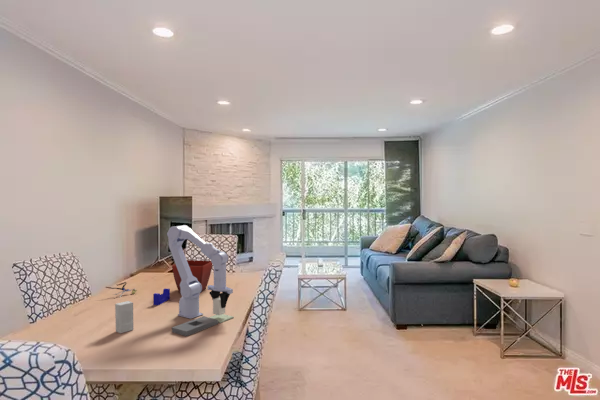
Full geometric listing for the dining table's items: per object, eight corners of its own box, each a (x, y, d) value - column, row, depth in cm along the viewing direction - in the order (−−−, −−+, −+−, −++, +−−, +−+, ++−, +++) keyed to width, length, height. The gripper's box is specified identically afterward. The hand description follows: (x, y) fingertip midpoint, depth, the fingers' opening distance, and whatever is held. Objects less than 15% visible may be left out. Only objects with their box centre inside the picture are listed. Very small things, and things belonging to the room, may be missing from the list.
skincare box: (128, 327, 171) (128, 300, 170) (133, 329, 168) (133, 302, 168) (115, 331, 166) (114, 303, 166) (119, 333, 163) (119, 305, 163)
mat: (206, 319, 182) (206, 318, 182) (219, 314, 189) (219, 313, 189) (220, 323, 177) (220, 321, 177) (233, 317, 184) (233, 316, 184)
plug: (213, 313, 182) (213, 298, 182) (219, 311, 185) (219, 297, 185) (219, 315, 180) (219, 300, 180) (225, 313, 183) (225, 298, 183)
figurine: (137, 306, 226) (101, 302, 216) (136, 298, 234) (101, 293, 223) (143, 291, 225) (107, 286, 214) (142, 283, 232) (106, 278, 222)
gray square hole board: (171, 332, 165) (171, 327, 165) (203, 320, 180) (203, 316, 180) (186, 336, 160) (186, 331, 160) (217, 324, 176) (217, 319, 175)
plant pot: (213, 287, 245) (213, 260, 245) (202, 294, 226) (202, 266, 226) (184, 286, 247) (184, 259, 247) (171, 294, 228) (171, 265, 228)
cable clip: (162, 299, 218) (162, 288, 218) (169, 299, 217) (169, 288, 217) (150, 305, 206) (150, 293, 206) (158, 305, 205) (158, 294, 205)
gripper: (202, 277, 183) (202, 306, 183) (225, 281, 175) (225, 311, 176) (213, 275, 189) (213, 302, 189) (235, 278, 181) (235, 307, 182)
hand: (220, 306), depth 183 cm, fingers closed on plug, 4 cm apart
